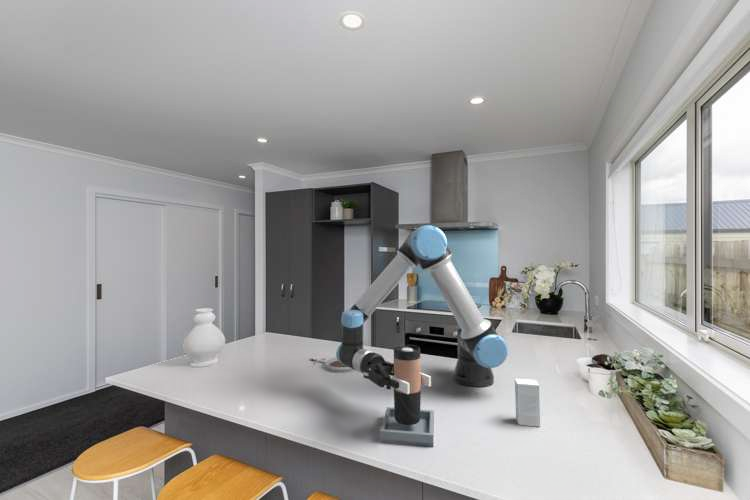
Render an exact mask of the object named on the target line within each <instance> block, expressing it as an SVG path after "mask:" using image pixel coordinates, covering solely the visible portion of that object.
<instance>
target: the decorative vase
mask: <svg viewBox="0 0 750 500" xmlns="http://www.w3.org/2000/svg"><path fill="white" fill-rule="evenodd" d="M194 310H195V313H196V314H195V315H194V316H193V317H192V321H193V322H194V323H195V324H196V325H194V327H193V328H192V329H191V330H190V331H189V332H188V333H187V334H186V336H185V337H184V340H183V342H182V350H183V351H184V353H185V355H187V357H188V358H189V359H191V361H190V362H189V367H192V368H205V367H210V366H213V365H216V364H218V363H219V362H220V358H219V357H218V356H219V354H220V353H221V352H222V350H223V349H224V347H225V346H226V336H225V335H224V333H223V332H222V330H220V328H218V326H216V325H215V324H213V322H215V320H216V314H214V313H213V311H214V308H213V307H208V308H207V307H202V308H196V309H194Z"/></svg>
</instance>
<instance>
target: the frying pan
mask: <svg viewBox="0 0 750 500" xmlns="http://www.w3.org/2000/svg"><path fill="white" fill-rule="evenodd" d="M308 360H309V361H310V362H311V361H312V362H314V363H313V365H314V366H315V365H316V364H317V363H324V364H323V365H324V366H325V368H326V370H327V371H329V372H332V373H339V374H340V373H343V374H345V373H351V372H357V371H356V370H354V369H352V368H349V367H346V366H344V365H343V364H342V363H340V362H339V361H338V360H337V357H336V356H334V357H331V358H328V359H327V357H322V358H319V359H316V358H313V357H309V359H308Z"/></svg>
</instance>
